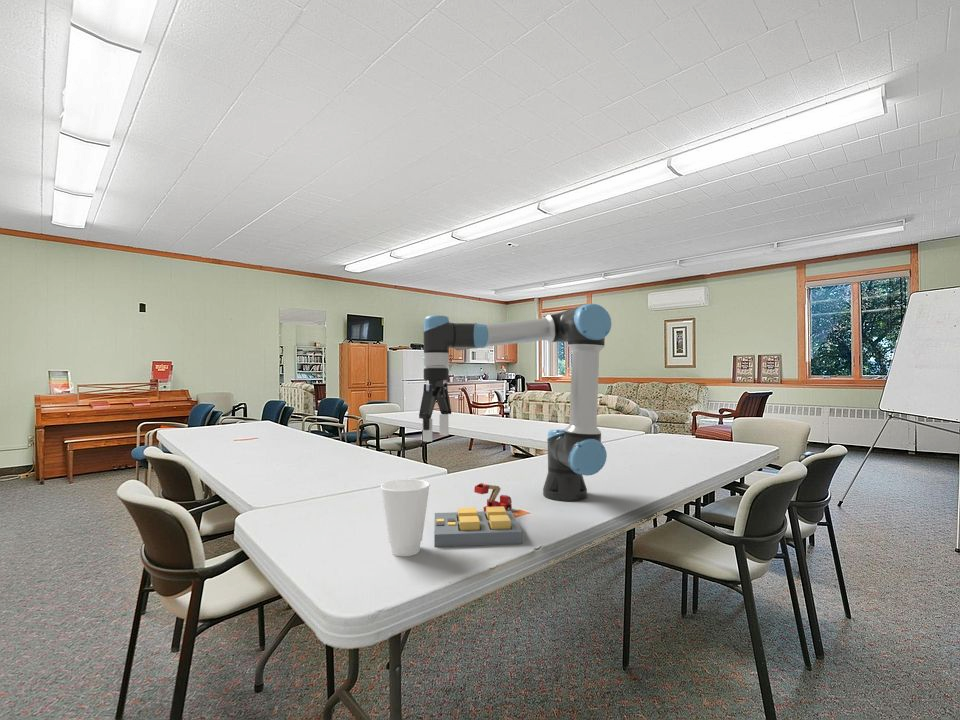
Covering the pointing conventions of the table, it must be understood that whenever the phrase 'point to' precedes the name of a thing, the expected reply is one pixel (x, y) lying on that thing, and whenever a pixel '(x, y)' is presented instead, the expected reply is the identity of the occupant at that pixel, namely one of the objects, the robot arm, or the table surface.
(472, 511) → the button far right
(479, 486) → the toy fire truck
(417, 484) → the cup
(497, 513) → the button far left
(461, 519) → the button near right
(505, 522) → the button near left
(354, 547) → the table surface
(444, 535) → the board
